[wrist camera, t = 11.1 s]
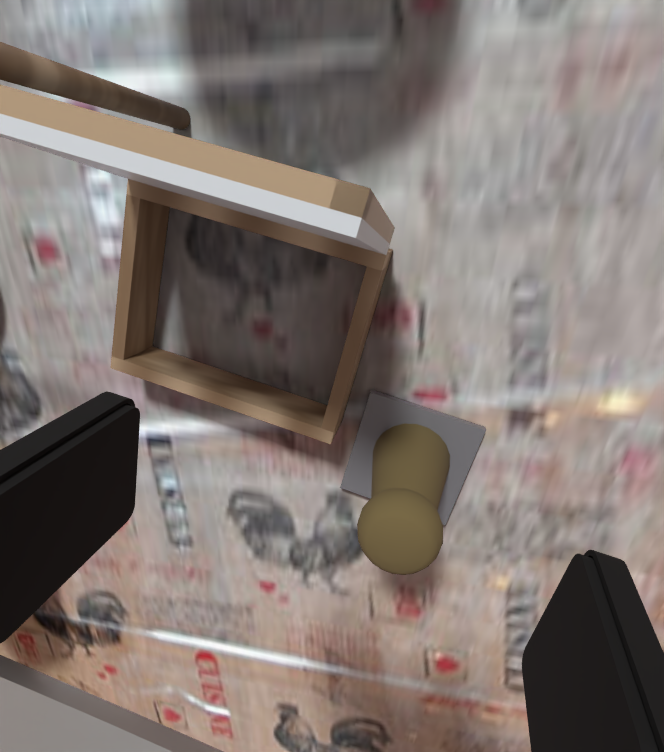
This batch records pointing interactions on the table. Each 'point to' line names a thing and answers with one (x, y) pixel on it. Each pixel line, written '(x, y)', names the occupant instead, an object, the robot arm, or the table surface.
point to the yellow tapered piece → (405, 500)
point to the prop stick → (85, 88)
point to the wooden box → (207, 382)
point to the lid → (198, 169)
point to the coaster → (396, 411)
